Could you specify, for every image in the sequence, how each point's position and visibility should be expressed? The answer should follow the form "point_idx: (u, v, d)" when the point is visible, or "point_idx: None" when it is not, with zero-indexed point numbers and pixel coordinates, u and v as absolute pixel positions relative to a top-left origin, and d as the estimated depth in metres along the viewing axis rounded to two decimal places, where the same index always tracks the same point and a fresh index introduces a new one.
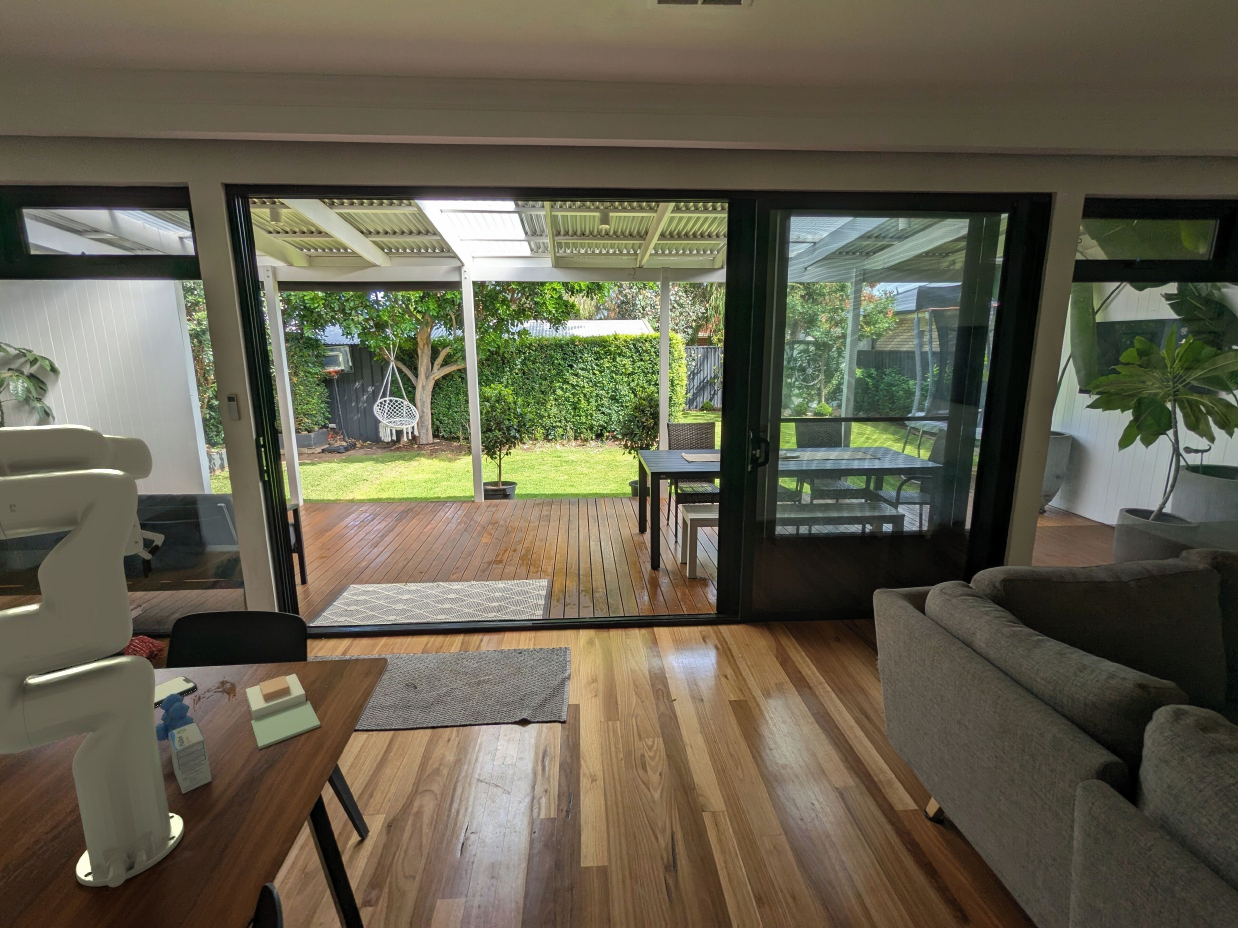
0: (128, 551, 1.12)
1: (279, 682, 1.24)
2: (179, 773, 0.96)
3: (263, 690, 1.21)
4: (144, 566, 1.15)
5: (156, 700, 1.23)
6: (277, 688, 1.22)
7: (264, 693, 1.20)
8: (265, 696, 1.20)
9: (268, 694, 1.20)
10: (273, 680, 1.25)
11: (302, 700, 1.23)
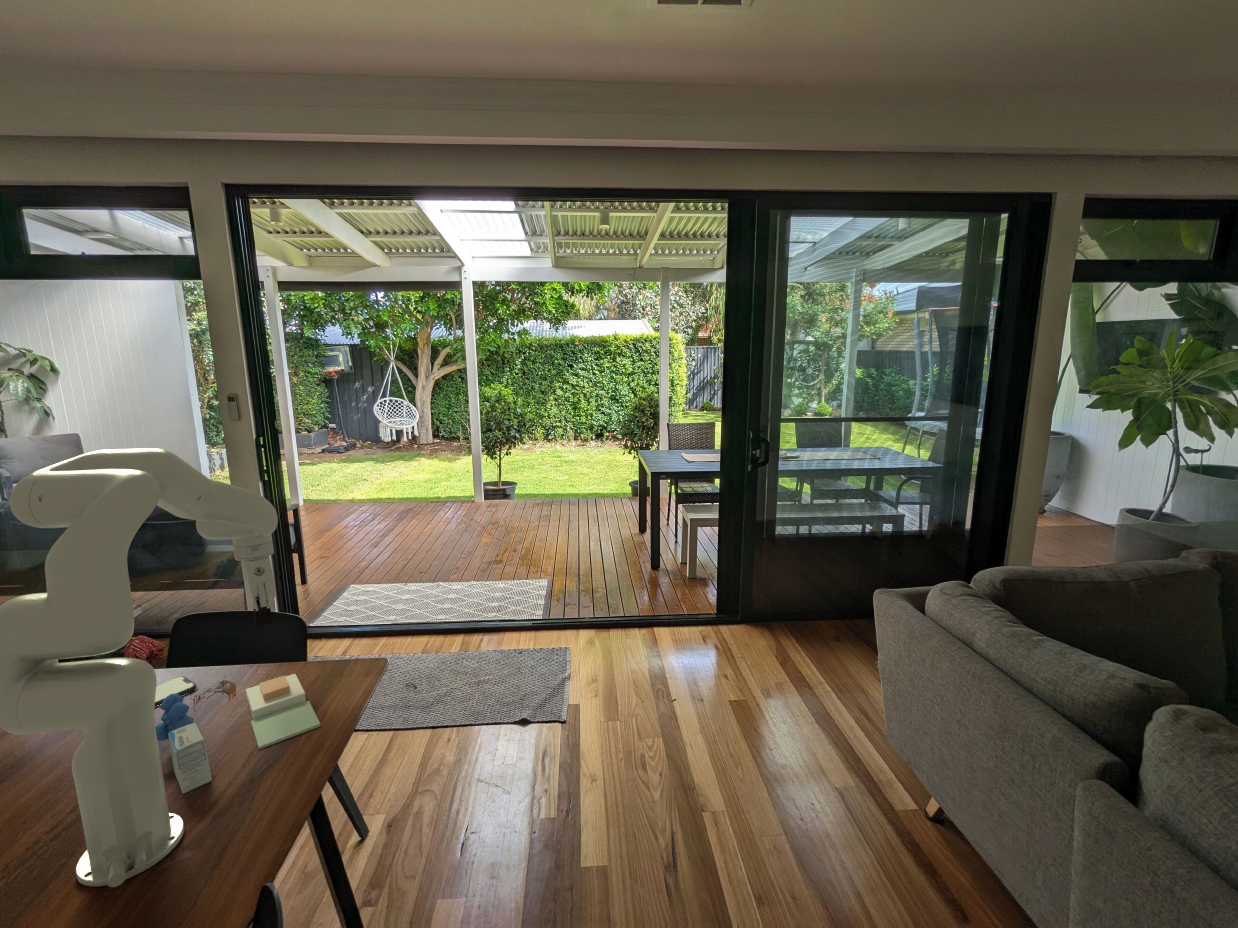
0: None
1: (279, 682, 1.24)
2: (179, 773, 0.96)
3: (263, 690, 1.21)
4: None
5: (155, 700, 1.23)
6: (277, 688, 1.22)
7: (264, 693, 1.20)
8: (265, 696, 1.20)
9: (268, 694, 1.20)
10: (273, 680, 1.25)
11: (302, 700, 1.23)
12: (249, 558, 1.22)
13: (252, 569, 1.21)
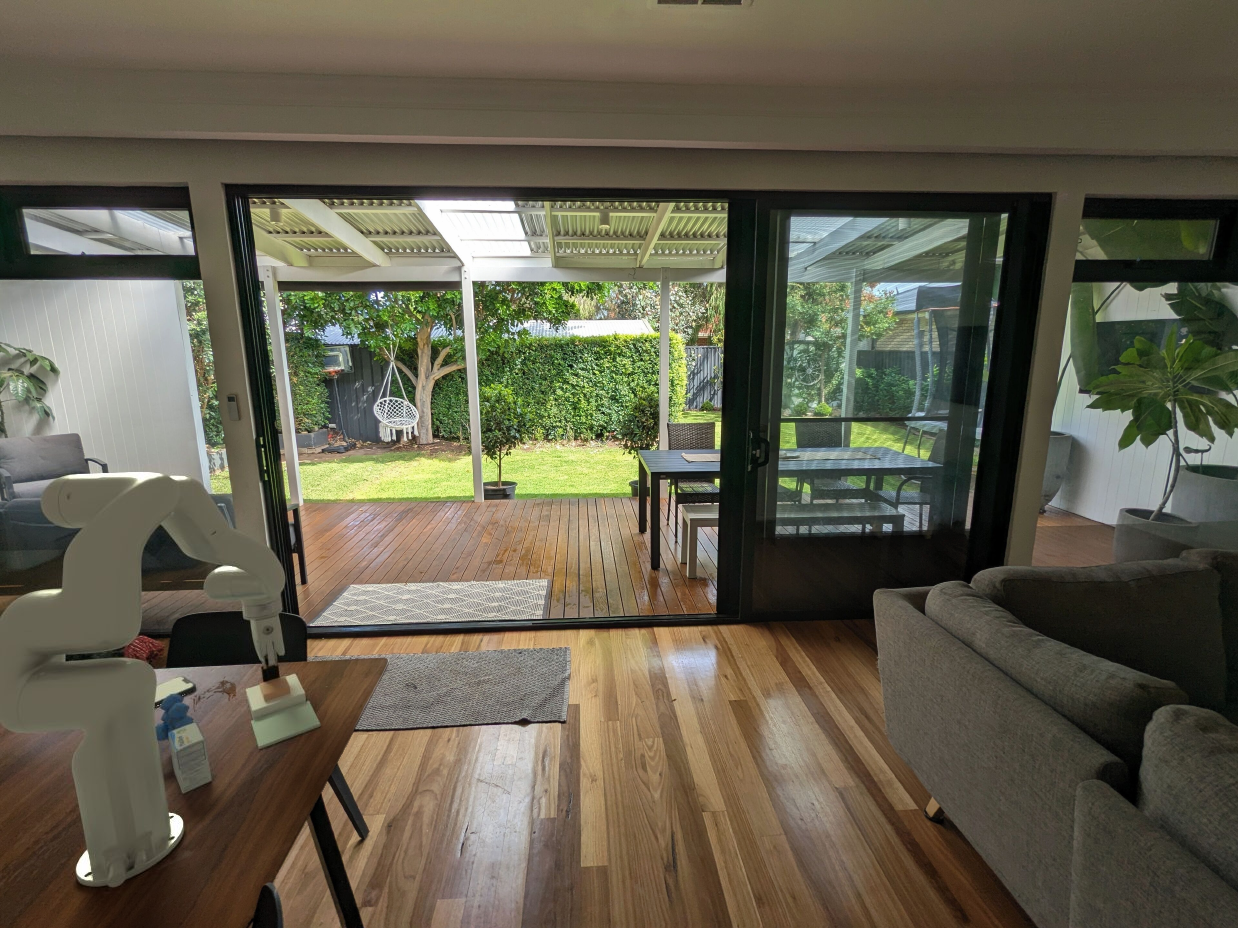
0: None
1: (280, 682, 1.24)
2: (179, 773, 0.96)
3: (263, 691, 1.21)
4: None
5: (155, 700, 1.23)
6: (277, 688, 1.22)
7: (264, 693, 1.20)
8: (265, 696, 1.20)
9: (268, 694, 1.20)
10: (273, 680, 1.25)
11: (302, 700, 1.23)
12: (258, 617, 1.21)
13: (261, 628, 1.20)
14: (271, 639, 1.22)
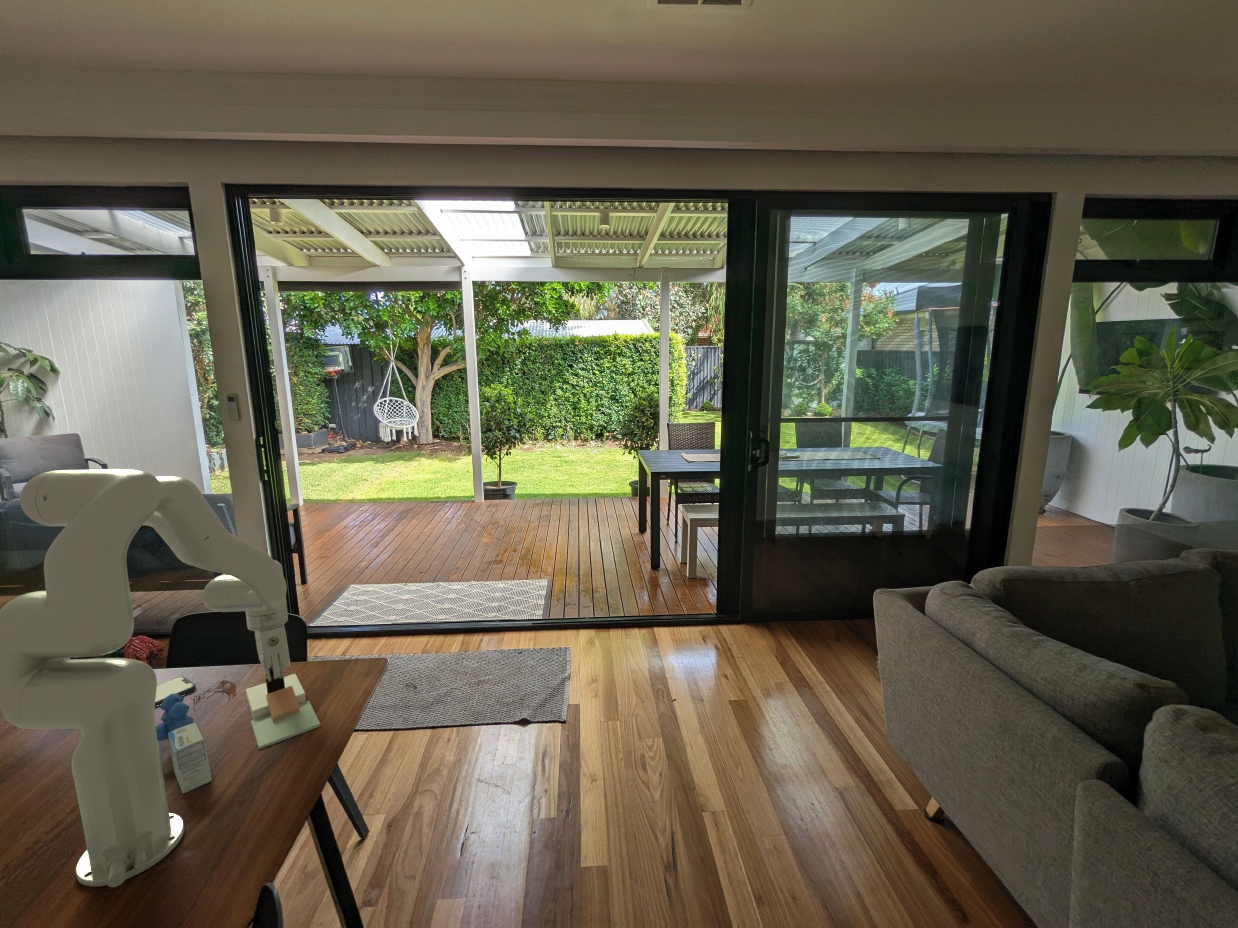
0: None
1: (288, 698, 1.19)
2: (179, 773, 0.96)
3: (271, 710, 1.16)
4: None
5: None
6: (286, 708, 1.17)
7: (273, 715, 1.15)
8: (274, 717, 1.16)
9: (277, 716, 1.16)
10: (280, 692, 1.20)
11: (302, 700, 1.23)
12: (263, 628, 1.15)
13: (266, 639, 1.15)
14: (276, 651, 1.16)
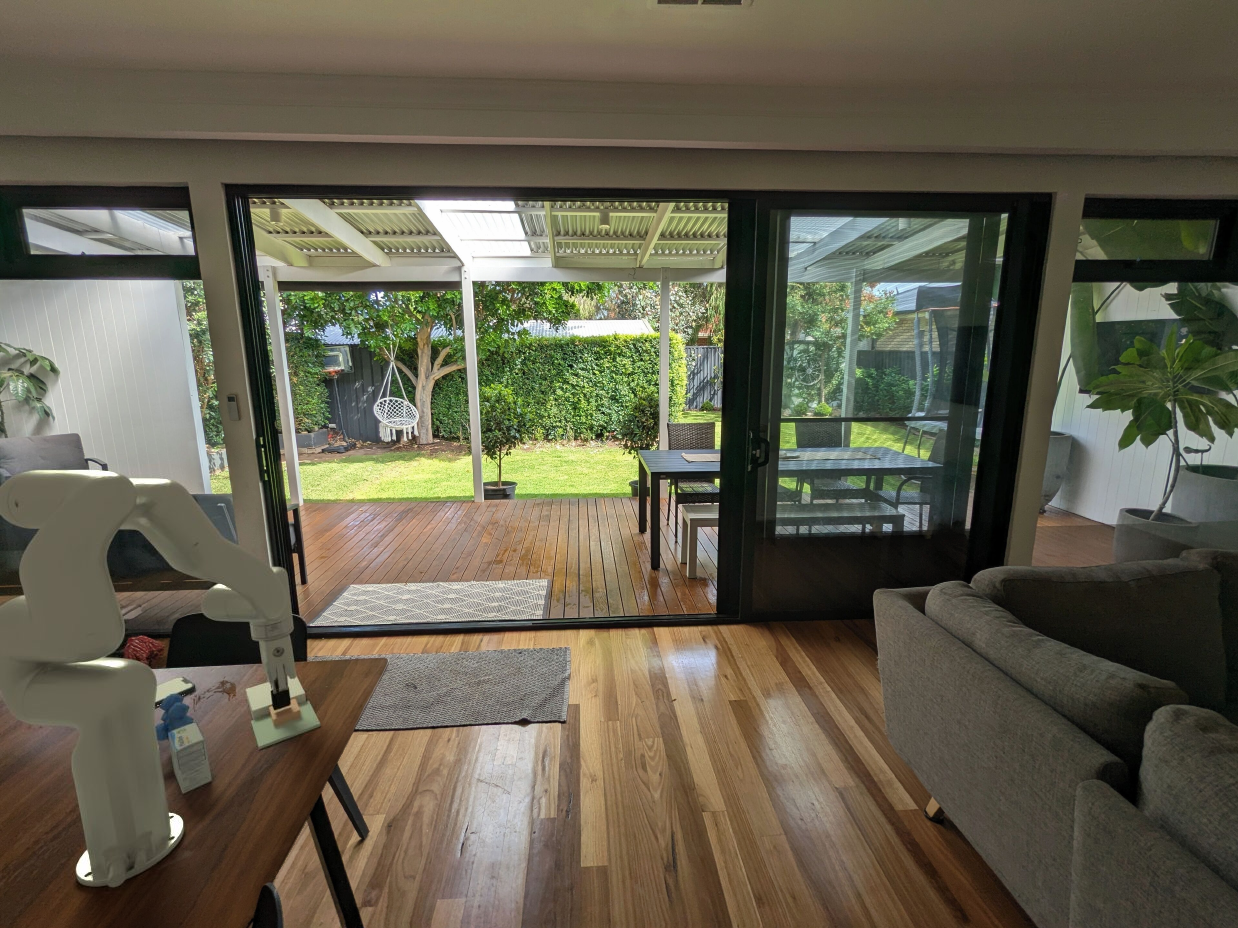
0: None
1: (290, 705, 1.18)
2: (179, 773, 0.96)
3: (273, 715, 1.15)
4: None
5: None
6: (287, 712, 1.16)
7: (274, 718, 1.14)
8: (275, 721, 1.14)
9: (278, 719, 1.14)
10: None
11: (302, 700, 1.23)
12: (267, 638, 1.11)
13: (271, 650, 1.10)
14: (282, 662, 1.12)
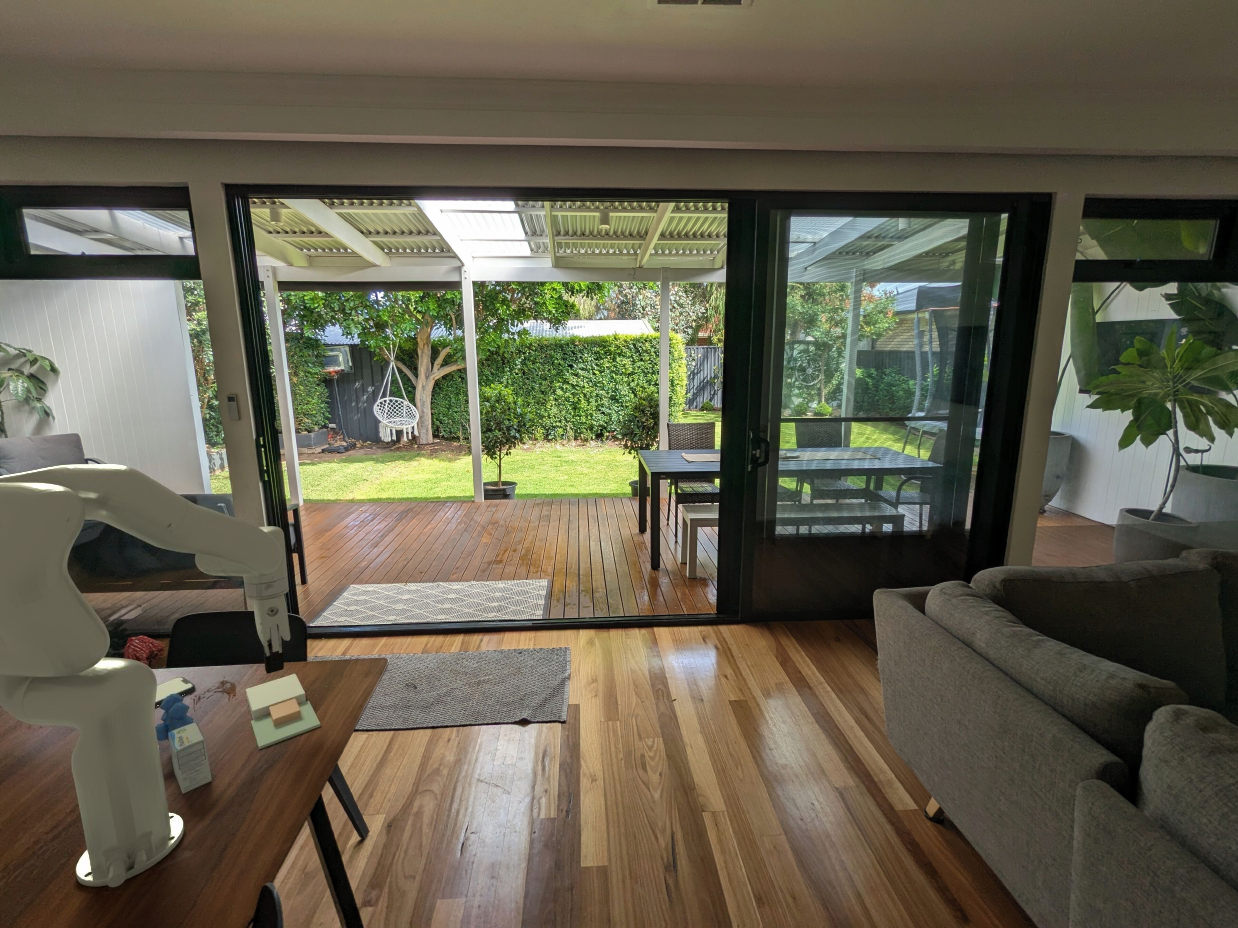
0: None
1: (290, 705, 1.18)
2: (179, 773, 0.96)
3: (273, 715, 1.15)
4: None
5: None
6: (287, 712, 1.16)
7: (274, 718, 1.14)
8: (275, 721, 1.14)
9: (278, 719, 1.14)
10: (283, 703, 1.19)
11: (302, 700, 1.23)
12: (262, 596, 1.09)
13: (265, 609, 1.09)
14: (276, 621, 1.10)
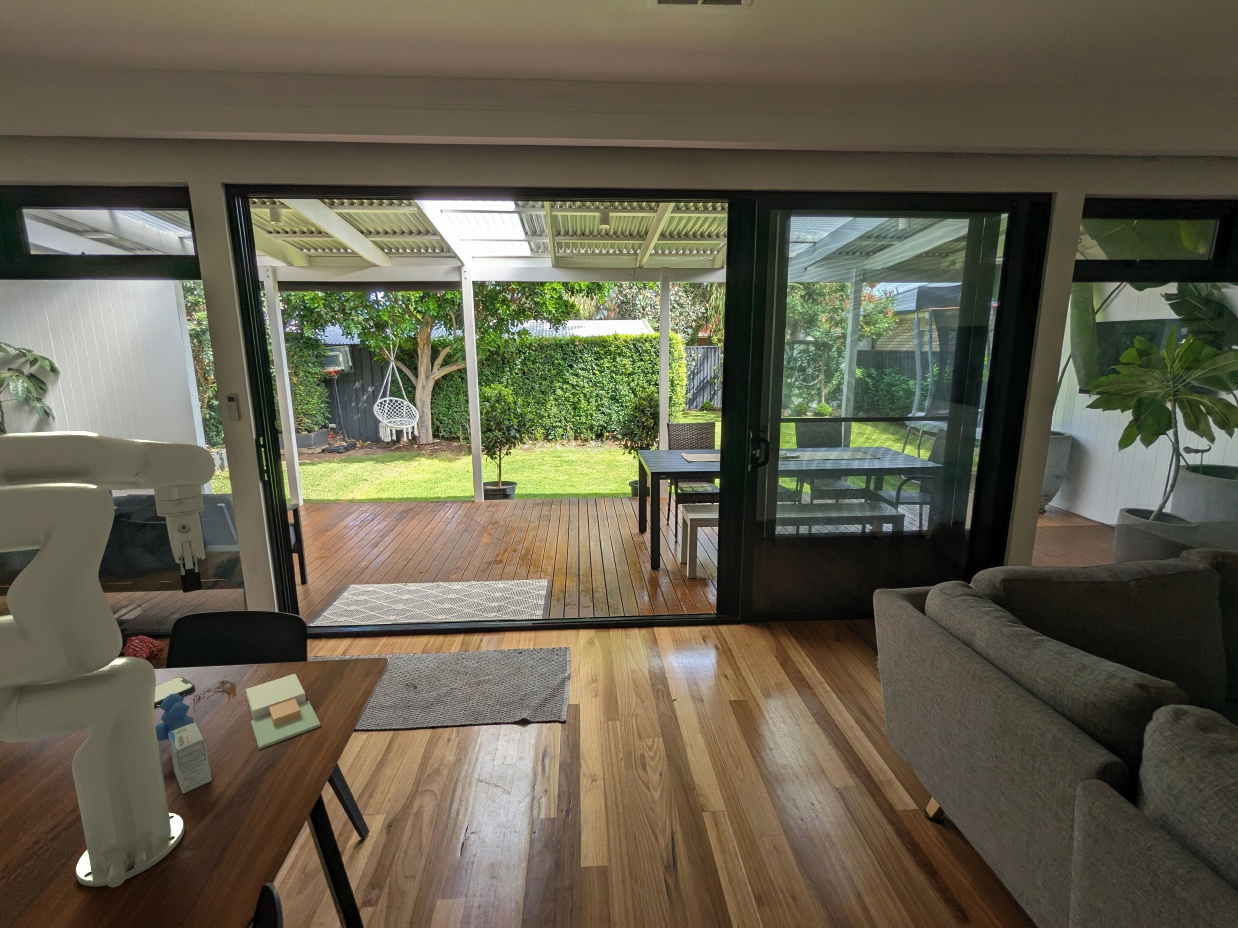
0: None
1: (290, 705, 1.18)
2: (179, 773, 0.96)
3: (273, 715, 1.15)
4: None
5: None
6: (287, 712, 1.16)
7: (274, 718, 1.14)
8: (275, 721, 1.14)
9: (278, 719, 1.14)
10: (283, 703, 1.19)
11: (302, 700, 1.23)
12: (172, 513, 1.08)
13: (175, 525, 1.08)
14: (188, 539, 1.09)
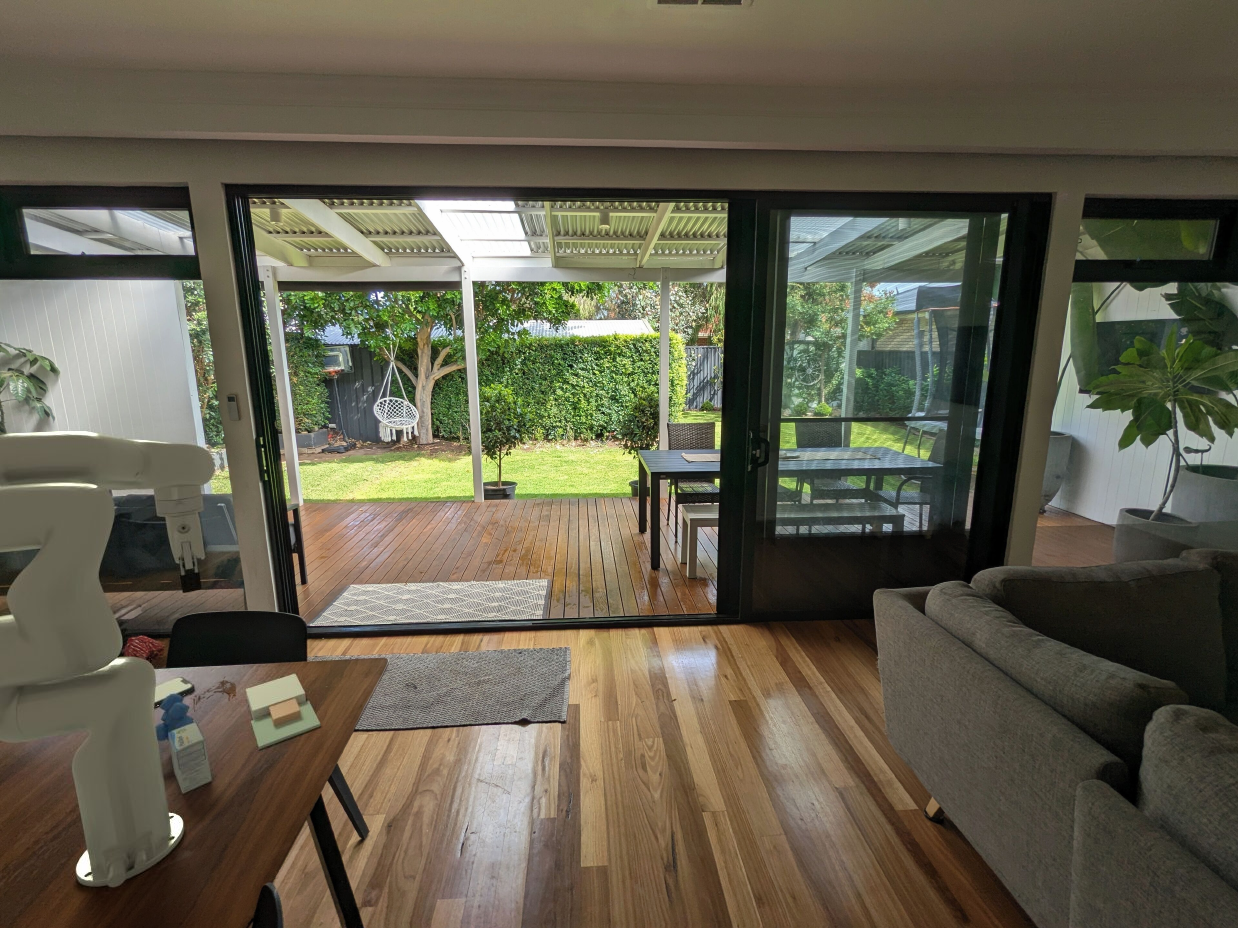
0: None
1: (290, 705, 1.18)
2: (179, 773, 0.96)
3: (273, 715, 1.15)
4: None
5: None
6: (287, 712, 1.16)
7: (274, 718, 1.14)
8: (275, 721, 1.14)
9: (278, 719, 1.14)
10: (283, 703, 1.19)
11: (302, 700, 1.23)
12: (172, 513, 1.08)
13: (175, 526, 1.08)
14: (187, 539, 1.09)
